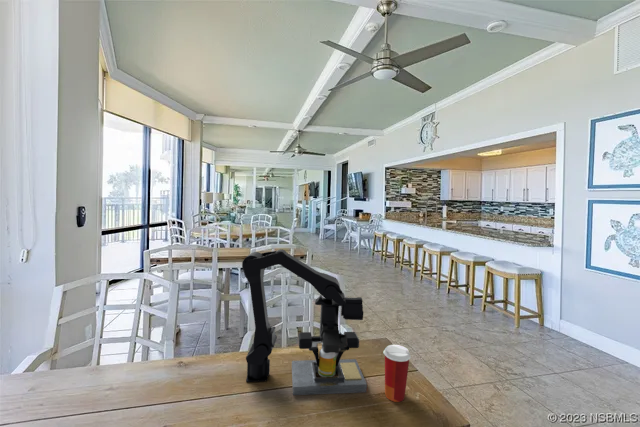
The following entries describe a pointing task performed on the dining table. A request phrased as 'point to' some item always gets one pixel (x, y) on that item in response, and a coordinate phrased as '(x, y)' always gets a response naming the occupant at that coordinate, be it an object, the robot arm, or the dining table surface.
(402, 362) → the paper cup
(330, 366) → the supplement bottle
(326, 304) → the robot arm
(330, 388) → the grey base block
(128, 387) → the dining table surface
